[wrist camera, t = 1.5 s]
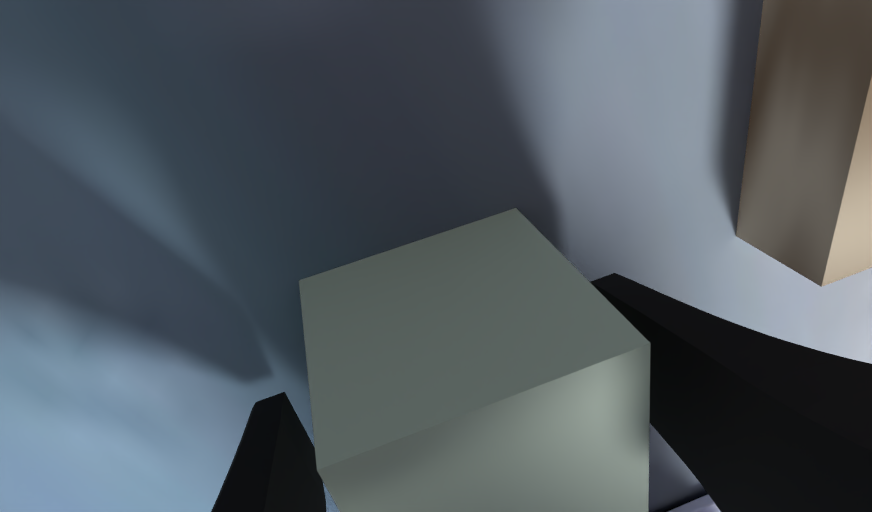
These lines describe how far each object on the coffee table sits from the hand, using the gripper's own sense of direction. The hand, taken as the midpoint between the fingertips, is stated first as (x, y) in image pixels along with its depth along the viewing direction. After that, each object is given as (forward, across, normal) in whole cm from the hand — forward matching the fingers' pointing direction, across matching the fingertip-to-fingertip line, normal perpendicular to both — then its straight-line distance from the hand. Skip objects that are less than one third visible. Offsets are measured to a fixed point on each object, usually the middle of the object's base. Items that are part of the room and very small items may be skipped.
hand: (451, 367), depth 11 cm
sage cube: (+2, 0, 0) cm, 2 cm away
